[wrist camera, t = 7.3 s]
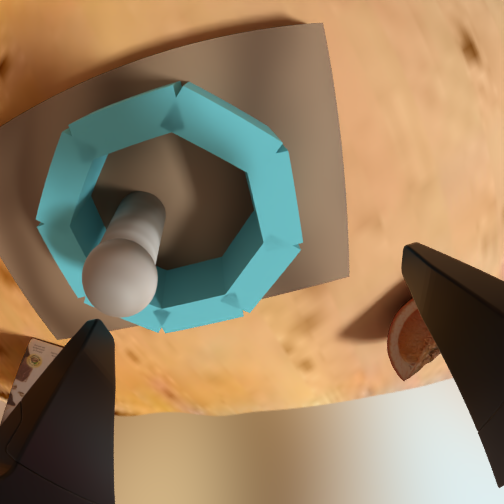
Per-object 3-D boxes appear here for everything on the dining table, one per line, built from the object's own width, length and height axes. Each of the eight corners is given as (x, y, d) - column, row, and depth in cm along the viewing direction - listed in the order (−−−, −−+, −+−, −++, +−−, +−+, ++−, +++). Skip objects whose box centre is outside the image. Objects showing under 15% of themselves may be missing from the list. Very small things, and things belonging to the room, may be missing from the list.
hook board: (312, 25, 12) (402, 4, 6) (340, 262, 20) (393, 358, 13) (-32, 150, 12) (-119, 214, 6) (62, 325, 20) (33, 416, 14)
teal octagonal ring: (257, 62, 12) (270, 61, 9) (296, 263, 18) (310, 299, 15) (37, 138, 12) (5, 158, 9) (119, 305, 18) (109, 343, 15)
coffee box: (28, 335, 20) (-23, 519, 7) (100, 355, 22) (74, 555, 9) (42, 391, 25) (15, 534, 11) (100, 407, 27) (87, 556, 13)
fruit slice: (443, 253, 21) (480, 295, 17) (464, 292, 24) (494, 330, 20) (361, 322, 24) (385, 372, 20) (395, 349, 27) (417, 391, 23)
